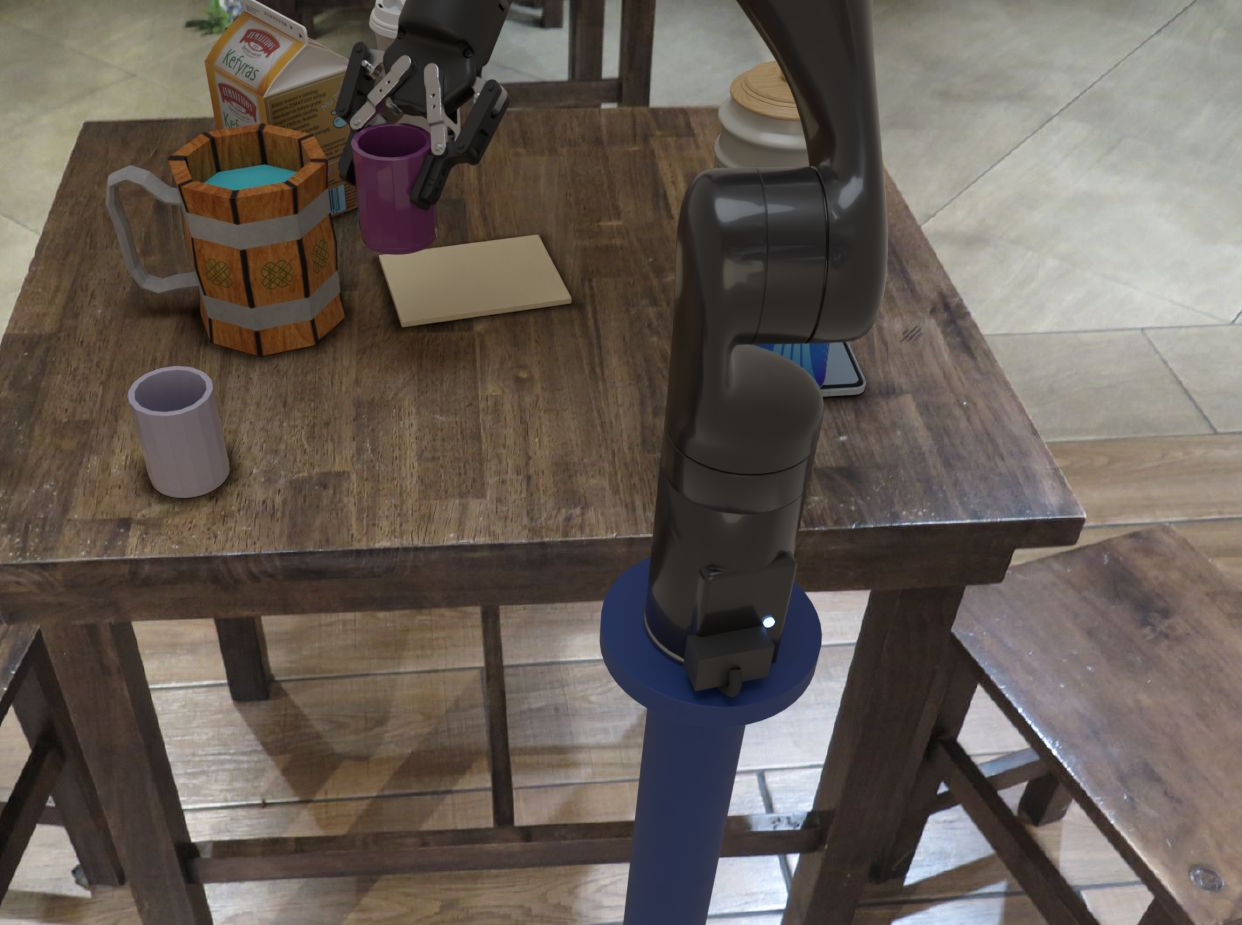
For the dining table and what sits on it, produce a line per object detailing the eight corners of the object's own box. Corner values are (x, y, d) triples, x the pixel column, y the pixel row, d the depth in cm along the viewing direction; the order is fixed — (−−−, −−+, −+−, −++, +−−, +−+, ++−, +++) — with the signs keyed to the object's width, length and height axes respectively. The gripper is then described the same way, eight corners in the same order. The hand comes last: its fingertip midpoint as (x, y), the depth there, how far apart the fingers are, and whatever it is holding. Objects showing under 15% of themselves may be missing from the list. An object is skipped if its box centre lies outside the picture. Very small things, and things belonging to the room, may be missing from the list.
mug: (355, 276, 121) (339, 124, 110) (335, 358, 111) (316, 200, 100) (151, 272, 121) (116, 120, 111) (114, 353, 112) (71, 196, 101)
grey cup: (233, 491, 98) (215, 408, 93) (152, 504, 97) (129, 421, 92) (226, 442, 103) (209, 360, 97) (148, 454, 102) (126, 372, 96)
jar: (825, 199, 131) (858, 26, 119) (844, 265, 122) (881, 85, 110) (700, 197, 131) (719, 24, 119) (709, 263, 122) (731, 82, 110)
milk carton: (228, 197, 132) (195, 9, 118) (312, 166, 136) (290, -18, 123) (283, 236, 126) (255, 43, 112) (370, 202, 131) (352, 14, 117)
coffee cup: (383, 121, 144) (373, -17, 134) (467, 122, 144) (463, -16, 133) (374, 160, 137) (362, 18, 127) (462, 161, 137) (457, 20, 127)
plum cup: (444, 249, 101) (440, 154, 95) (367, 259, 100) (358, 164, 94) (429, 211, 105) (423, 118, 99) (355, 221, 104) (345, 127, 98)
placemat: (571, 303, 117) (571, 298, 117) (401, 327, 114) (401, 322, 114) (538, 239, 125) (538, 234, 125) (379, 260, 123) (378, 255, 122)
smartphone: (783, 392, 106) (746, 292, 116) (781, 401, 107) (745, 301, 117) (869, 388, 107) (825, 288, 117) (867, 397, 107) (823, 297, 118)
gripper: (365, -57, 96) (285, 152, 98) (524, -18, 91) (436, 202, 92) (411, -7, 103) (335, 187, 105) (561, 32, 98) (479, 236, 99)
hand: (383, 194), depth 98 cm, fingers closed on plum cup, 6 cm apart
